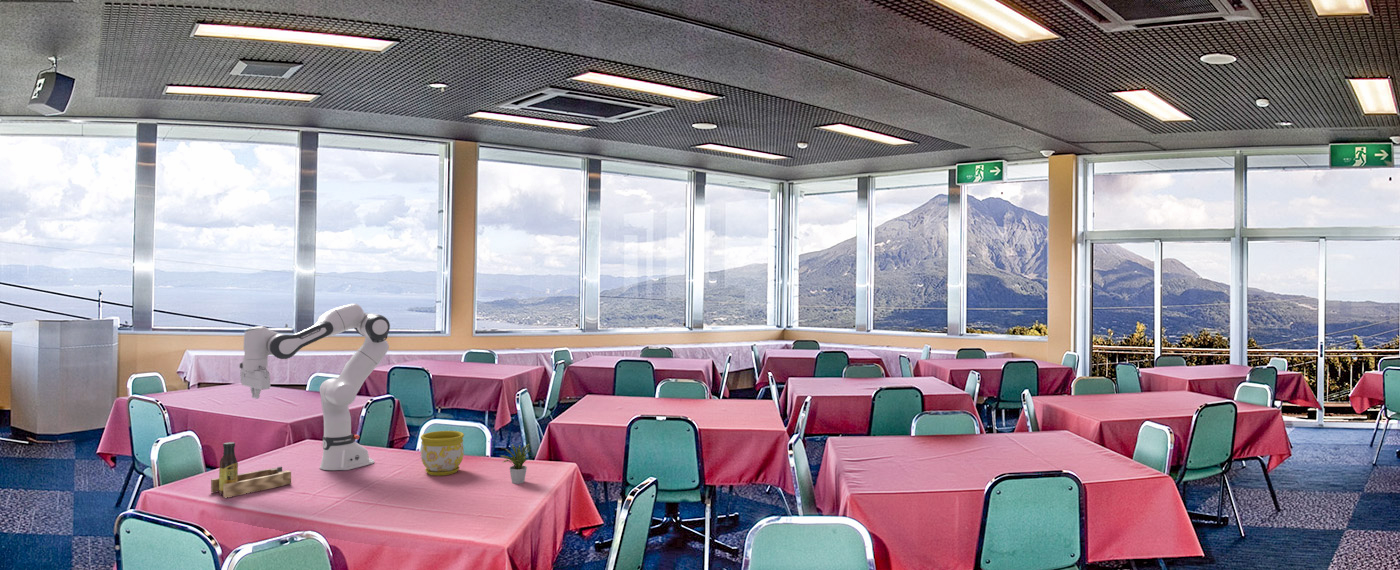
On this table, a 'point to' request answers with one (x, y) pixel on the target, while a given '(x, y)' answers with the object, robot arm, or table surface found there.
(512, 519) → the table surface
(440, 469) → the flowerpot
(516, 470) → the house plant
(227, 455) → the sauce bottle
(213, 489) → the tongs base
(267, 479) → the oak jaw
